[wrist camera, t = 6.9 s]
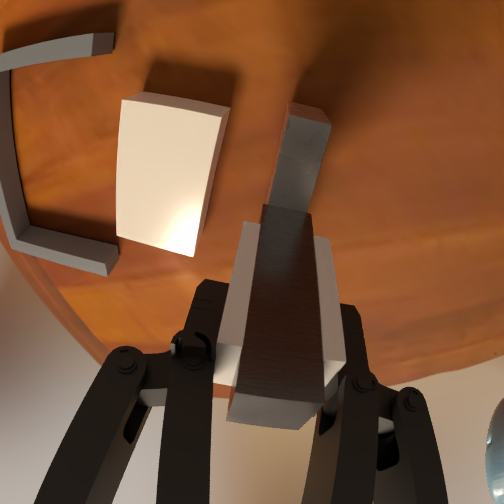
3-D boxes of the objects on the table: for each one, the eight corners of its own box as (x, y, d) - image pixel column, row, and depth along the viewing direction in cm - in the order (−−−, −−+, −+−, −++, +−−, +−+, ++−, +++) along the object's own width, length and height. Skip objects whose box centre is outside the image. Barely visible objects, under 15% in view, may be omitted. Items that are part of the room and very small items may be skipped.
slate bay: (114, 32, 14) (93, 33, 12) (119, 258, 25) (107, 276, 23) (0, 55, 13) (-21, 61, 11) (24, 234, 25) (11, 248, 23)
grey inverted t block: (281, 267, 23) (268, 456, 12) (248, 261, 23) (216, 449, 12) (326, 110, 15) (420, 283, 4) (283, 100, 15) (276, 254, 4)
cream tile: (231, 107, 17) (221, 117, 15) (202, 232, 23) (193, 257, 21) (143, 91, 17) (122, 99, 14) (132, 214, 23) (116, 235, 20)
